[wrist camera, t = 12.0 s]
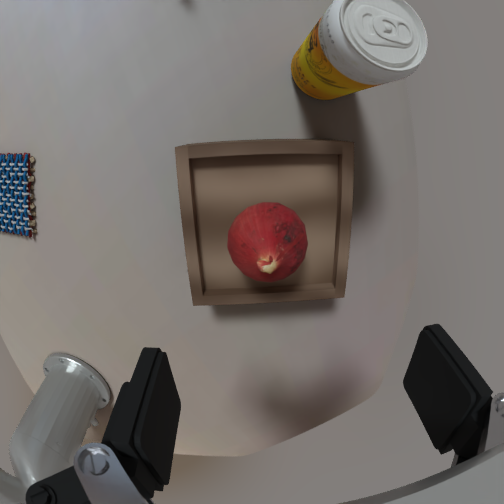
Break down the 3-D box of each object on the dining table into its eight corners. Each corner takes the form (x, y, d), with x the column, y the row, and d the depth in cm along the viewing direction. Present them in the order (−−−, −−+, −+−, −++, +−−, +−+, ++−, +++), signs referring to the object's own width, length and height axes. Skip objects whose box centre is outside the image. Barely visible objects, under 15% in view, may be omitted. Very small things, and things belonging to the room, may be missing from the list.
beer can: (289, 42, 24) (329, -28, 10) (348, 49, 24) (427, -1, 10) (289, 98, 26) (335, 67, 12) (349, 103, 26) (436, 88, 12)
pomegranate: (272, 178, 24) (279, 200, 17) (313, 230, 26) (335, 272, 18) (217, 221, 25) (202, 261, 18) (260, 269, 27) (262, 322, 20)
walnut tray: (328, 268, 33) (344, 297, 27) (201, 274, 33) (193, 305, 27) (332, 139, 27) (354, 142, 22) (188, 144, 27) (174, 147, 22)
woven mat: (-10, 226, 30) (-18, 231, 28) (-13, 152, 26) (-22, 154, 24) (39, 235, 31) (31, 241, 29) (38, 151, 27) (28, 153, 25)
